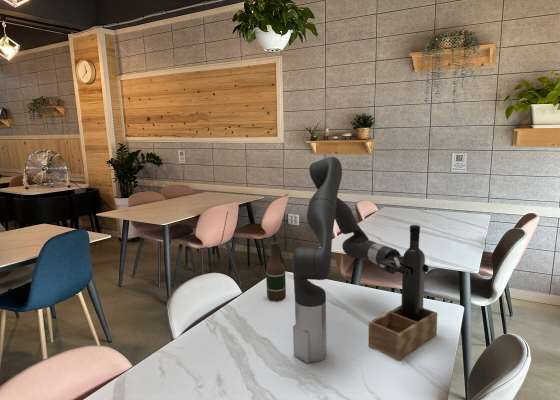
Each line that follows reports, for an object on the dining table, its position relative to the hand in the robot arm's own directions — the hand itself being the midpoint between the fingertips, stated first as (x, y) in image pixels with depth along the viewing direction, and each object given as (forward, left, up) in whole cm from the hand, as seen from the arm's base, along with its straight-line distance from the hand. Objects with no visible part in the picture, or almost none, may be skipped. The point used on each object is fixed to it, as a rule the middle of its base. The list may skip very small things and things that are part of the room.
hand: (418, 271), depth 120 cm
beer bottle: (-13, +56, -23) cm, 61 cm away
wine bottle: (+1, +2, -16) cm, 16 cm away
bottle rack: (-5, +2, -23) cm, 23 cm away
